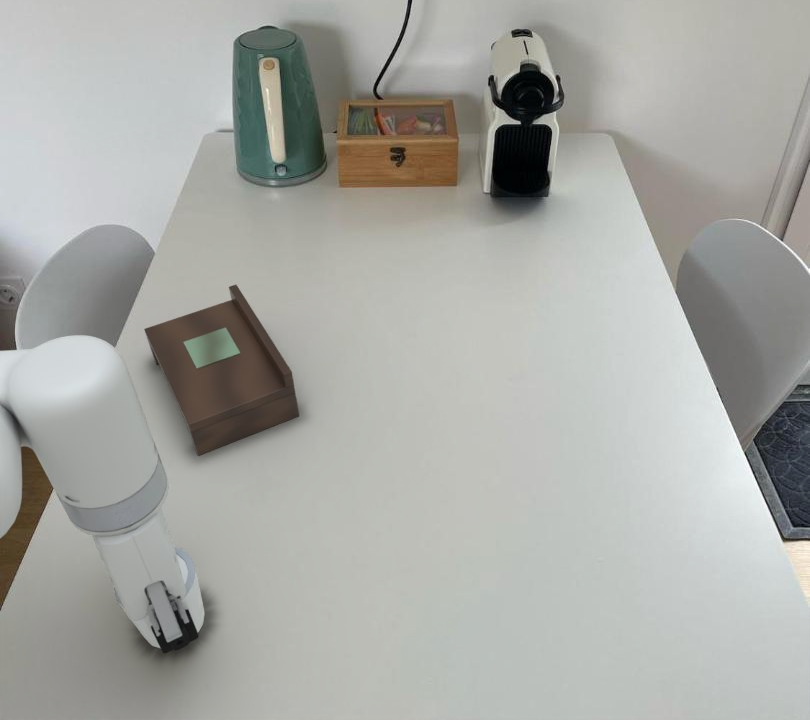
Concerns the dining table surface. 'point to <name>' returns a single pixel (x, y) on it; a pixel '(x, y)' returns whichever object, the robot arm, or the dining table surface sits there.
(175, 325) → the shelf
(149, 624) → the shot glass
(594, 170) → the dining table surface
